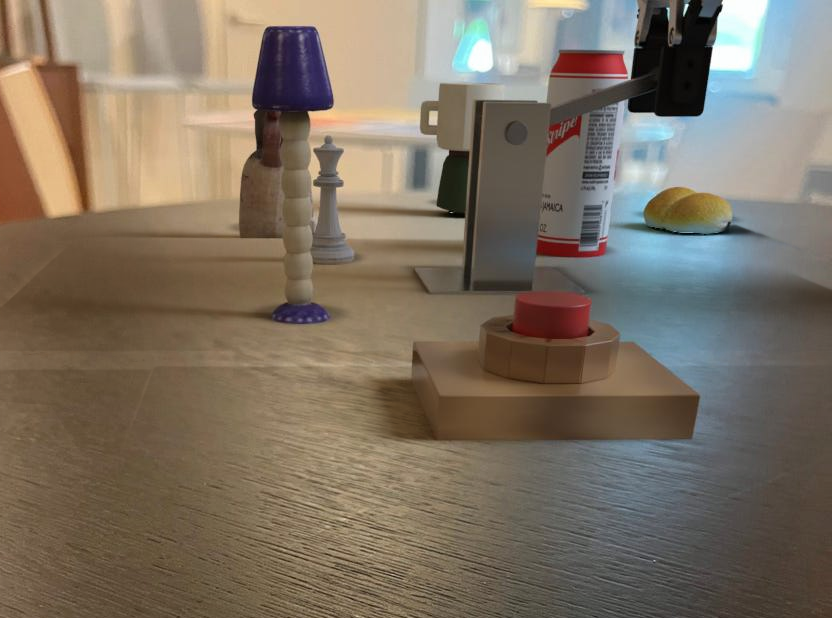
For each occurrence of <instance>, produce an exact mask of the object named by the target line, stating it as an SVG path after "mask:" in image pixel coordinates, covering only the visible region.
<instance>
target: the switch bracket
mask: <svg viewBox="0 0 832 618" xmlns="http://www.w3.org/2000/svg"><path fill="white" fill-rule="evenodd" d="M550 112H551V103H546V102H538V100H535V99H534V100H531V99H527V100H526V99H504V100H479V99H474V100H473V108H472V123H471V138H470V153H469V168H468V183H467V198H466V212H464V227H463V228H464V230H463V244H462V245H463V246H462V256H461V257H462V260H461V267H415V268H414V272H415V273H416V275H417V277H418V278H419V280H420V281H421V283H422V284H423V286H424V287H425V289H426V290H427V292H428V293H429V295H490V296H491V295H497V296H498V295H504V296H505V295H506V296H507V295H509V296H511V295H514V296H515V295H516V296H517V295H519V294H521V293H525V292H534V291H556V292H566V293H573V294H578V295H582V296H585V295H586V291H585V290H584V289H582V288H581V287H580V286H578V285H577V284H576V283H575V282H574V281H572V280H570V279H569V278H568V277H567V276H565V275H564V274H563V273H562V272H560V271H559V270H557V269H556V268H544V267H543V268H538V267H537V268H536V261H537V260H536V259H537V253H536V251H537V241H538V231H539V221H540V211H541V201H542V191H543V181H544V171H545V161H546V151H547V142H548V132H549V122H550Z"/></svg>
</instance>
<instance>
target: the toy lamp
mask: <svg viewBox="0 0 832 618" xmlns="http://www.w3.org/2000/svg"><path fill="white" fill-rule="evenodd" d="M324 53H325V52H324V50H323V45H322V41H321V37H320V33H319V31H318V28H316V27H315V26H312V25H269V26H266V28H265V29H264V31H263V33H262V37H261V43H260V48H259V53H258V58H257V59H258V60H257V65H256V70H255V77H254V82H253V87H252V88H253V89H252V95H251V106H252V108H253V109H255V110H263V111H281V113H280V118H279V129H280V133H281V136H282V138H283V142H282V144H281V149H280V157H281V162H282V165H283V167H284V171H283V173H282V179H281V184H282V190H283V193H284V195H285V198H284V201H283V205H282V215H283V219H284V221H285V223H286V225H285V228H284V231H283V239H282V242H283V248H284V249H285V251H286V252H285V254H284V258H283V269H284V270H283V271H284V273H285V275H286V277H287V278H286V280H285V283H284V295H285V299H286V301H285V302H284V303H282V304H280V305H278V306H277V307H276V308H275V309H274V310H273V311H272V312H271V314H270V316H269V319H270V320H271V321H274V322H277V323H283V324H289V325H290V324H291V325H313V324H320V323H324V322H327V321H329V320H330V319H331V315H330V314H329V312H328V311H327V310H326V309H325V308H324V307H323V306H321V305H320V304H318V303H316V302H313V301H312V300H313V296H314V285H313V282H312V279H311V276H312V273H313V270H314V269H313V268H314V263H313V260H312V256H311V254H310V249H311V246H312V240H313V235H312V230H311V227H310V225H309V223H310V221H311V218H312V204H311V200H310V198H309V194H310V191H311V190H312V185H313V181H312V174H311V172H310V170H309V166H310V164H311V159H312V150H311V146H310V142H309V140H308V138H309V136H310V132H311V117H310V115H309V112H322V111H328V110H331V109H333V107H334V105H335V100H334V99H335V98H334V94H333V93H334V92H333V89H332V84H331V79H330V76H329V71H328V66H327V62H326V57H325V54H324Z"/></svg>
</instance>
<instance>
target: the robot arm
mask: <svg viewBox="0 0 832 618" xmlns="http://www.w3.org/2000/svg"><path fill="white" fill-rule="evenodd" d="M723 2H724V0H636V3H637V8H638V9H637V13H638V14H637V13H636V19H637V22H636V27H635V33H634V34H635V35H634V39H633V40H634V41H633V42H634V43H633V45H634V49H633V56H632V64H631V72H630V73H631V74H630V80H631V79H634V78H637V77H640V76H642V75H645V74H646V73H647V71H648V70H649V69H650V68H651V67H659V73H658V81H657V89H656V90H653V91H650V92H647V93H644V94H642V95H639V96H636V97H633V98H630V99H627V111H628V112H629V113H633V114H654V115H655V116H656V117H660V118H672V117H673V118H675V117H676V118H678V117H682V118H684V117H688V118H689V117H690V118H691V117H695V118H696V117H697V118H698V117H700V116H701V115H702V114H703V113H704V110H705V104H706V97H707V91H708V85H709V84H708V83H709V76H710V70H711V63H712V57H713V50H714V45H715V43H716V41H717V36H718V21H719V20H718V18H719V16H720V14H721V13H722V11H723V7H724V3H723ZM686 5H687V7H686ZM685 8H686V10H685Z"/></svg>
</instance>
